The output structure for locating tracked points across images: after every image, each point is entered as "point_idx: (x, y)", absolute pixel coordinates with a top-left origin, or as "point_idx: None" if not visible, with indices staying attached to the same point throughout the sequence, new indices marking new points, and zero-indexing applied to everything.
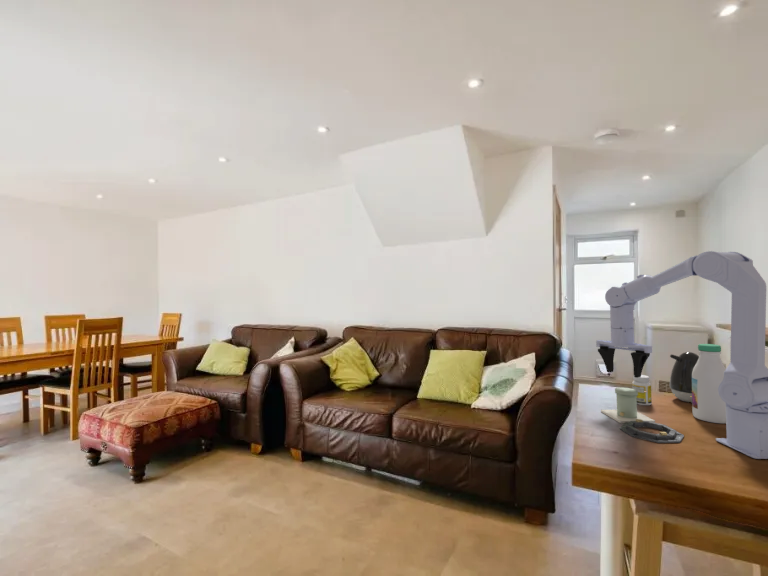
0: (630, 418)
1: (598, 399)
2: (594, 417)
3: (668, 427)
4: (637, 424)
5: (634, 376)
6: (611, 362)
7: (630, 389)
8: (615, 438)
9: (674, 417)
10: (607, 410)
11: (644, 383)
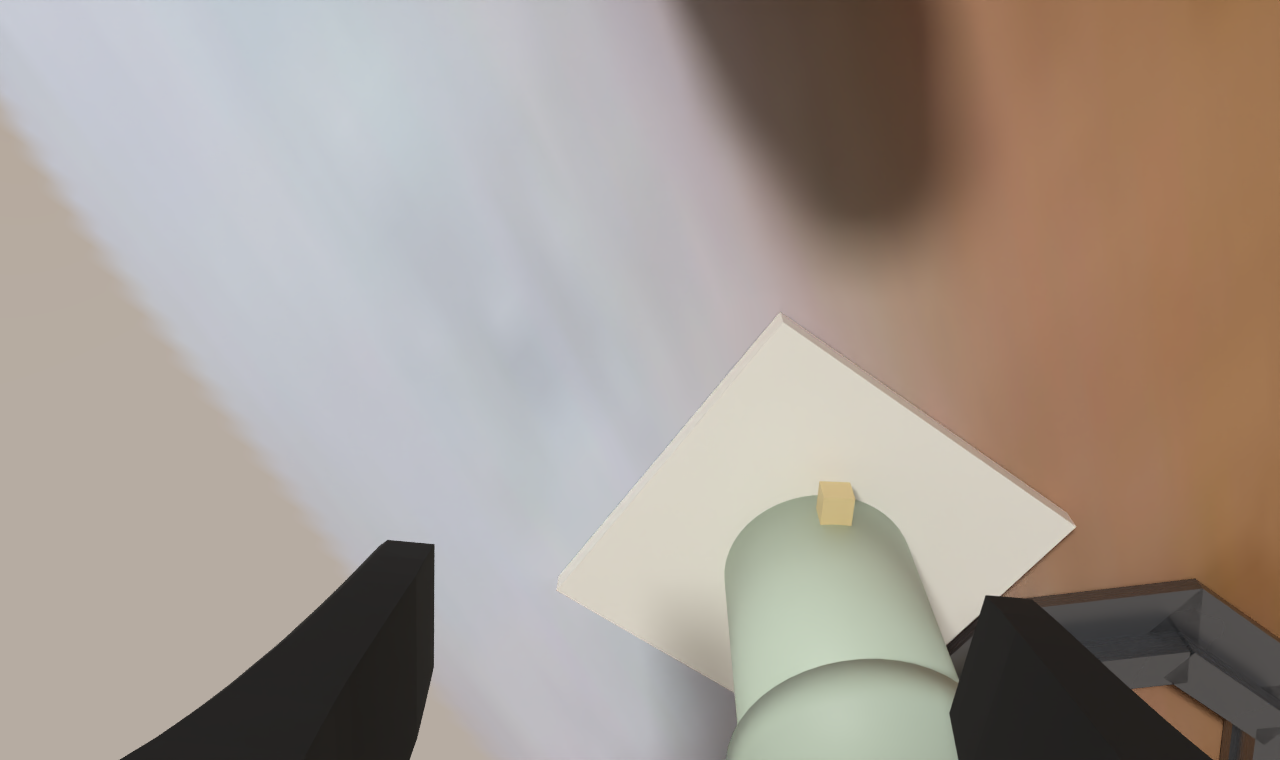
0: None
1: (232, 118)
2: (606, 748)
3: (1231, 697)
4: None
5: (958, 731)
6: (361, 741)
7: (904, 748)
8: None
9: (1211, 152)
10: (610, 564)
11: None
